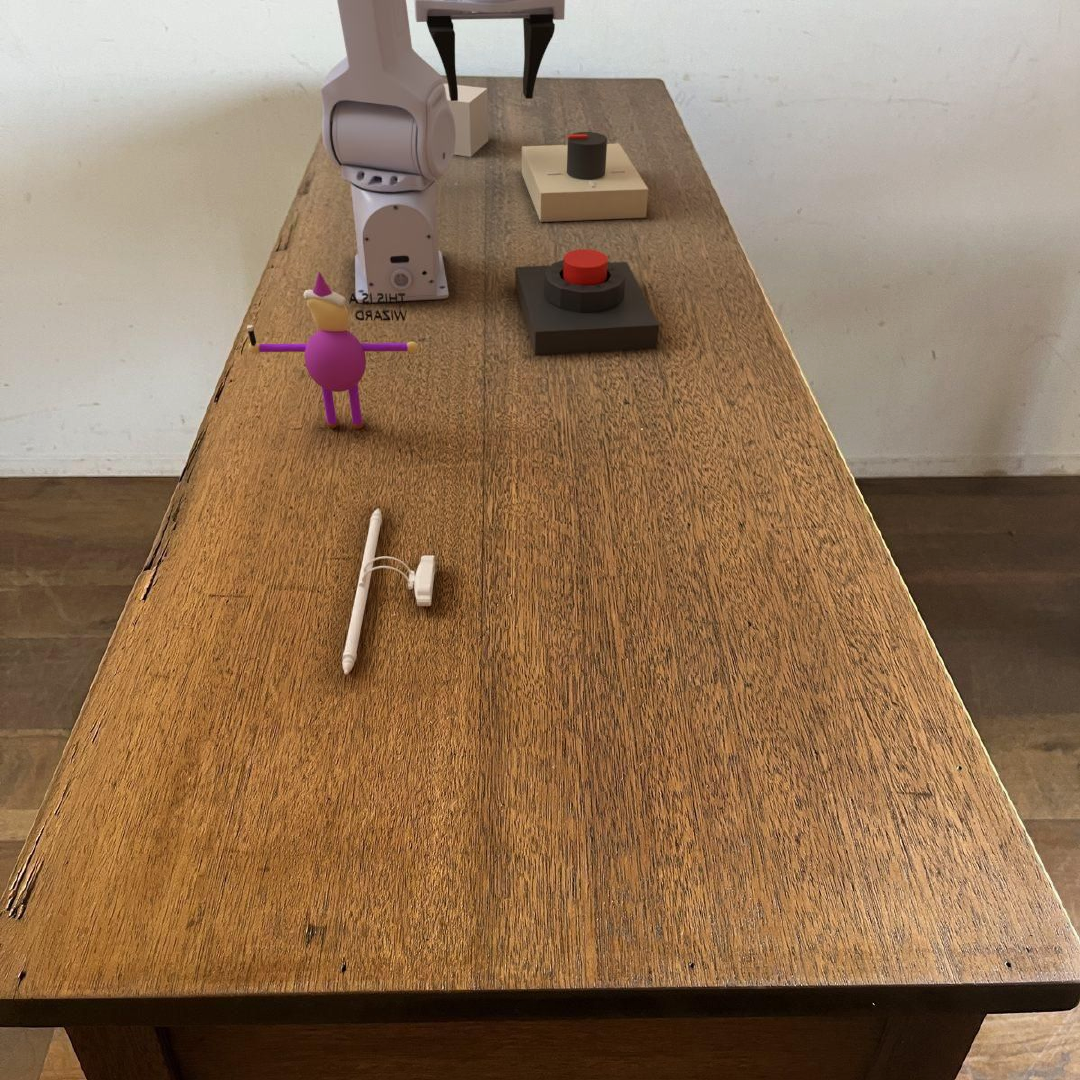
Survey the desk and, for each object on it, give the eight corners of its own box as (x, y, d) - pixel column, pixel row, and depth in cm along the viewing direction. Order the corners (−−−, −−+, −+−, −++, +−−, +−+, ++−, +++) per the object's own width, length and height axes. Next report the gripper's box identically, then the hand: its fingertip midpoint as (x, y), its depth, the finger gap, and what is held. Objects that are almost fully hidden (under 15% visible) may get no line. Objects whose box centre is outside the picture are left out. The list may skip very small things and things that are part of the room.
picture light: (373, 513, 62) (370, 486, 61) (441, 514, 63) (440, 487, 61) (339, 678, 52) (335, 650, 50) (422, 679, 52) (420, 651, 50)
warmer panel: (646, 217, 101) (648, 187, 99) (540, 222, 99) (540, 191, 97) (617, 170, 111) (619, 141, 109) (521, 173, 110) (521, 144, 108)
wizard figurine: (424, 418, 71) (414, 261, 63) (422, 443, 69) (411, 283, 61) (267, 419, 71) (238, 260, 63) (259, 444, 68) (227, 282, 61)
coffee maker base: (656, 349, 80) (661, 304, 77) (534, 356, 78) (535, 310, 76) (625, 284, 89) (628, 241, 86) (515, 290, 87) (515, 247, 85)
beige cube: (470, 157, 114) (469, 102, 110) (422, 150, 115) (419, 96, 111) (488, 140, 118) (487, 87, 114) (442, 135, 120) (439, 82, 116)
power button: (610, 286, 80) (612, 266, 79) (567, 288, 80) (567, 268, 79) (601, 267, 83) (603, 247, 82) (559, 269, 82) (560, 249, 81)
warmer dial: (601, 165, 104) (603, 128, 101) (608, 178, 101) (611, 140, 98) (563, 166, 103) (564, 129, 101) (570, 180, 100) (571, 141, 98)
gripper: (557, -64, 96) (553, 84, 105) (409, -63, 94) (417, 87, 103) (570, -51, 91) (565, 103, 100) (413, -50, 89) (422, 107, 98)
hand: (490, 97), depth 101 cm, fingers open, 7 cm apart
